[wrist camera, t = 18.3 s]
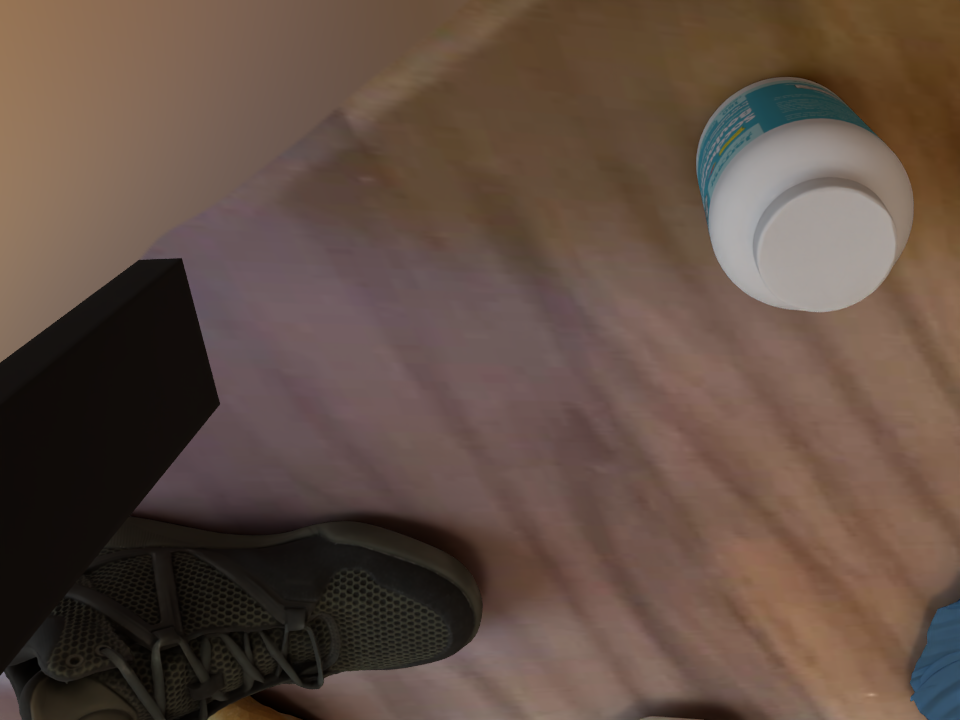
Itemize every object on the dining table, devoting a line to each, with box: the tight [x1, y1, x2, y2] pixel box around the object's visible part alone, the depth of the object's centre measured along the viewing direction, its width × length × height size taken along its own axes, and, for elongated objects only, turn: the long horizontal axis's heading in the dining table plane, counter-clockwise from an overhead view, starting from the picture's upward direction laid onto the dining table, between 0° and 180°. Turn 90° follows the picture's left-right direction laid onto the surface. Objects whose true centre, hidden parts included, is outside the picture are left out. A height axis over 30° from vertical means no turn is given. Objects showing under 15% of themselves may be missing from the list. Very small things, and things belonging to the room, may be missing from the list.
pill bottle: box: [696, 77, 914, 312], centre depth 37 cm, size 8×7×14 cm
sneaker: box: [4, 516, 483, 720], centre depth 53 cm, size 12×29×17 cm, turn 96°
